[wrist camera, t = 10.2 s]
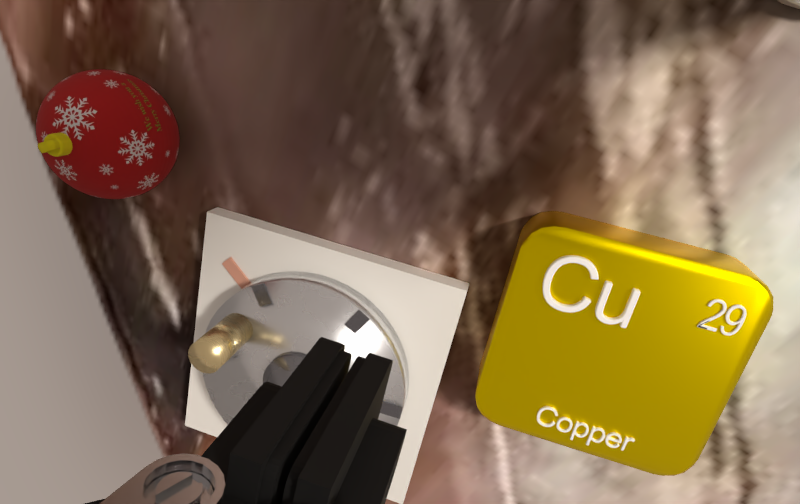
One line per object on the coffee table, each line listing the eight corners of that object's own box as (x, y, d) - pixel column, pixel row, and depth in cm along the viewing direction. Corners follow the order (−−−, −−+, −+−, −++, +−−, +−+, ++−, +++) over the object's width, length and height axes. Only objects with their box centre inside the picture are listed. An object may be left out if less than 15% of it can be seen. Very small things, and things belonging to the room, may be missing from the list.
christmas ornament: (219, 172, 41) (129, 202, 32) (127, 195, 44) (19, 230, 34) (179, 54, 39) (70, 51, 30) (84, 86, 42) (-44, 91, 32)
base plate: (469, 283, 40) (466, 292, 38) (406, 491, 47) (402, 506, 45) (217, 207, 42) (205, 212, 41) (194, 415, 49) (183, 426, 48)
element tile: (473, 384, 43) (466, 421, 38) (529, 201, 37) (529, 220, 33) (671, 445, 41) (688, 492, 36) (760, 261, 35) (793, 289, 31)
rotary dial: (453, 375, 40) (439, 430, 34) (324, 487, 46) (294, 549, 40) (289, 227, 39) (246, 257, 33) (180, 360, 45) (127, 405, 39)
